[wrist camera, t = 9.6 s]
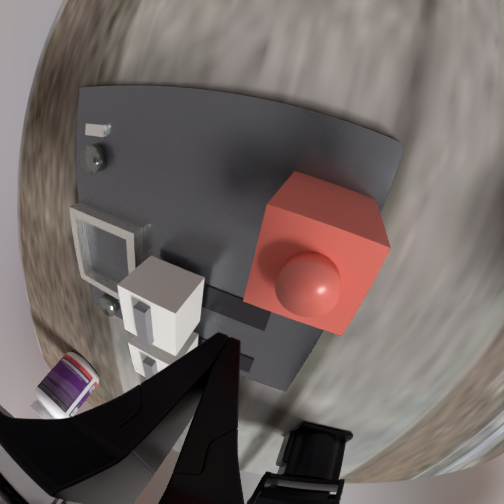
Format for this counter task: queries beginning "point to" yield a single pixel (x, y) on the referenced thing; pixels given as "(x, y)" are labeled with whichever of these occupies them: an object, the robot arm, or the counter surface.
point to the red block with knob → (317, 253)
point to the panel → (208, 198)
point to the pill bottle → (65, 388)
